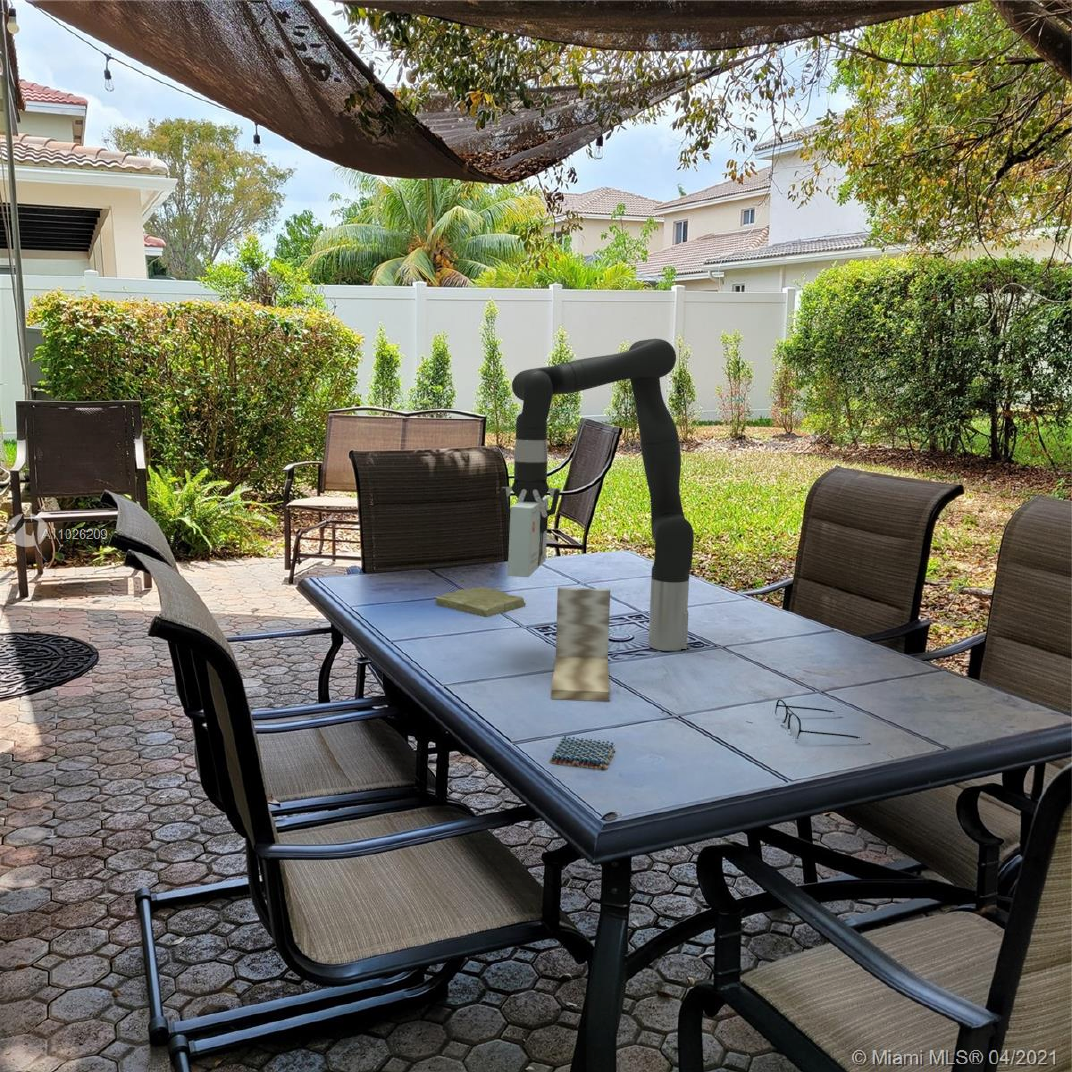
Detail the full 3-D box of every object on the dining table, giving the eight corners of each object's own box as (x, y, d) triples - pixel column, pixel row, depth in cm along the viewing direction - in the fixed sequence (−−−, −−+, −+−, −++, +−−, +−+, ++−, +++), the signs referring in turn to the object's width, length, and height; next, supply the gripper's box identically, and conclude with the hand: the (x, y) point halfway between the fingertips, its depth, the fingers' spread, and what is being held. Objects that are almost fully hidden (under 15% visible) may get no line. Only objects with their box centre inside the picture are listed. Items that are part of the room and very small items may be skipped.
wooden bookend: (607, 665, 229) (610, 589, 226) (609, 701, 205) (612, 616, 202) (555, 662, 230) (557, 587, 227) (551, 698, 205) (553, 614, 202)
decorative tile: (486, 619, 269) (486, 606, 269) (434, 606, 282) (434, 594, 281) (530, 607, 284) (530, 595, 283) (479, 595, 296) (479, 584, 296)
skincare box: (530, 578, 218) (531, 507, 216) (506, 577, 219) (507, 506, 217) (548, 560, 239) (549, 495, 236) (526, 559, 240) (526, 494, 237)
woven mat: (617, 751, 180) (617, 740, 180) (606, 773, 170) (607, 762, 169) (561, 744, 182) (561, 733, 182) (547, 766, 172) (547, 755, 172)
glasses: (772, 719, 198) (777, 696, 197) (844, 727, 199) (848, 704, 198) (796, 747, 184) (800, 721, 183) (872, 755, 185) (877, 730, 184)
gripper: (562, 458, 228) (561, 530, 231) (500, 456, 229) (499, 529, 232) (561, 461, 221) (560, 536, 223) (497, 460, 221) (496, 534, 224)
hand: (529, 532), depth 228 cm, fingers closed on skincare box, 5 cm apart
